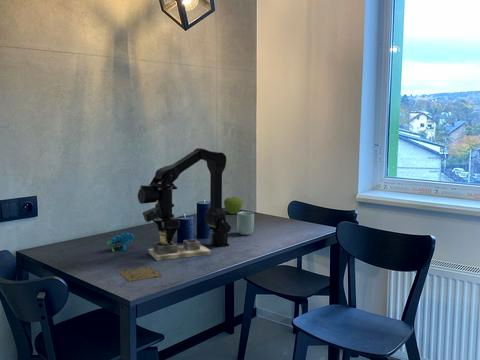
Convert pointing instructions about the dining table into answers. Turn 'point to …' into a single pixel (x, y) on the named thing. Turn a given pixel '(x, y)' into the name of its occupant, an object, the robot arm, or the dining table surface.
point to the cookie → (140, 274)
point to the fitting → (163, 238)
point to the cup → (245, 222)
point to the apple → (233, 205)
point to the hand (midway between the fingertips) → (165, 240)
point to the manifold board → (178, 250)
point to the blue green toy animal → (120, 241)
